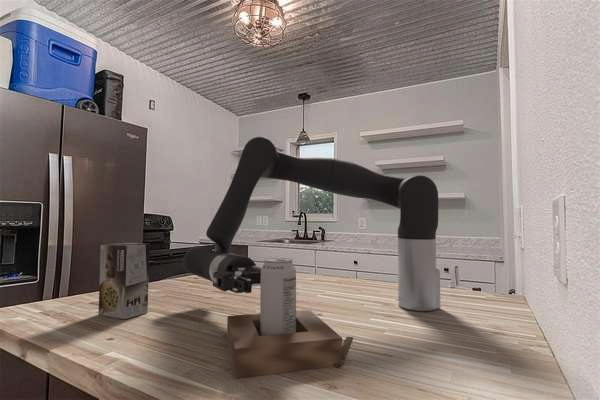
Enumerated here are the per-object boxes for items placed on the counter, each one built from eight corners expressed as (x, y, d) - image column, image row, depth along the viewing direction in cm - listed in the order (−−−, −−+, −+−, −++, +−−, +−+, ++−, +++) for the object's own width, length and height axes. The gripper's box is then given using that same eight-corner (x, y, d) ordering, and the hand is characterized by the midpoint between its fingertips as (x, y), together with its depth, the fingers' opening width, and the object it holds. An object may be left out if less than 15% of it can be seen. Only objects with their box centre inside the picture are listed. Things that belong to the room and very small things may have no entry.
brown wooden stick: (345, 335, 61) (353, 335, 61) (346, 340, 61) (353, 341, 60) (332, 362, 49) (341, 363, 48) (332, 369, 49) (341, 370, 48)
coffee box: (149, 312, 76) (151, 243, 77) (123, 320, 70) (126, 245, 71) (122, 308, 80) (125, 241, 81) (96, 315, 74) (99, 243, 75)
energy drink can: (271, 340, 59) (271, 257, 60) (301, 346, 56) (301, 258, 57) (253, 353, 53) (253, 260, 54) (285, 359, 51) (286, 262, 52)
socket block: (309, 330, 65) (309, 309, 65) (342, 365, 49) (342, 337, 50) (227, 338, 60) (227, 315, 60) (234, 378, 45) (235, 348, 45)
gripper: (200, 256, 66) (234, 265, 53) (261, 252, 75) (304, 259, 62) (199, 293, 66) (233, 312, 53) (261, 285, 74) (304, 300, 61)
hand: (271, 284), depth 57 cm, fingers open, 8 cm apart
